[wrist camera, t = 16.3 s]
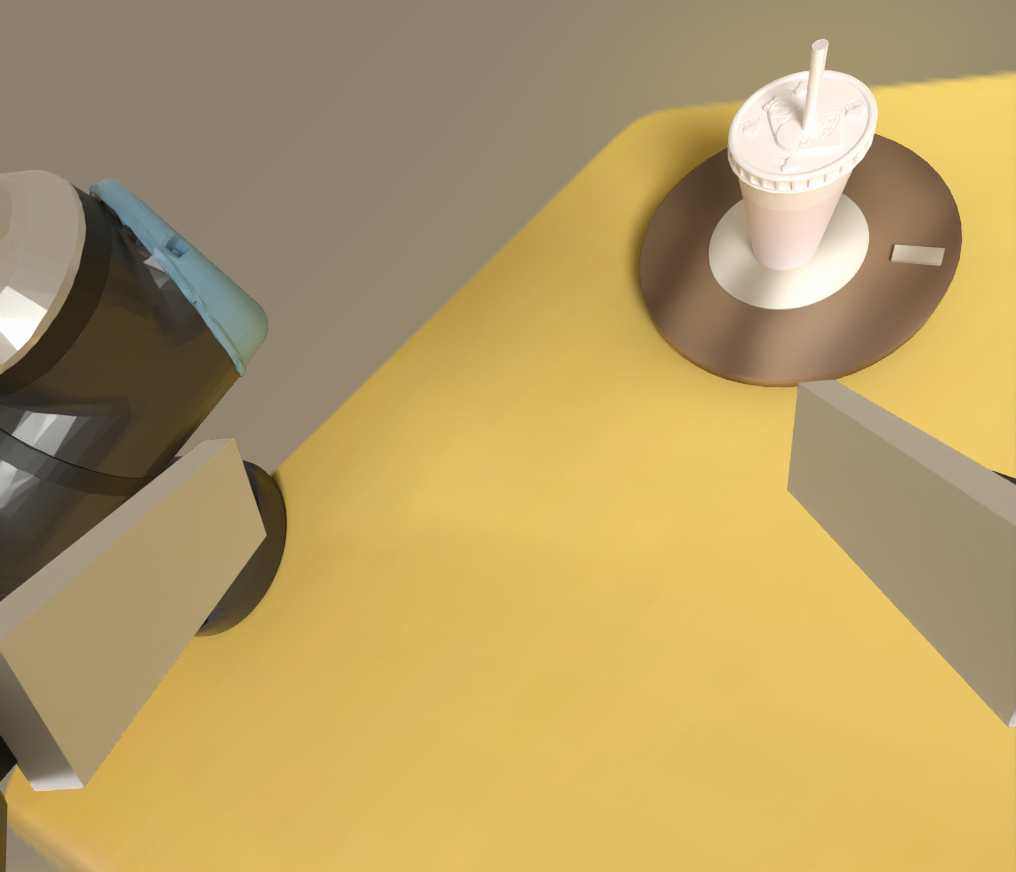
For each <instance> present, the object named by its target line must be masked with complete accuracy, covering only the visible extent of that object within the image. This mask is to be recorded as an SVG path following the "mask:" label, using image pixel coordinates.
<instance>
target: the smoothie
mask: <svg viewBox="0 0 1016 872" xmlns="http://www.w3.org/2000/svg"><path fill="white" fill-rule="evenodd" d="M827 48H828V41H827V40H824V39H821V40H818V41H816V42H815V43H814V44H813V46H812V54H811V62H810V70H809V71H803V72H798V73H794V74H790V75H787V76H784V77H782V78H779V79H777V80H775V81H773V82H771V83H769V84H767V85H765V86H764V87H762V88H761V89H759V90H758V91H756V92H755V93H754V94H753V95H751V96H750V97H749V98H748V99H747V100H746V101H745V102H744V103H743V105H742V106H741V107H740V108H739V110H738V111H737V113H736V114H735V116H734V118H733V120H732V123H731V126H730V130H729V138H728V140H729V142H728V145H727V148H728V160H729V163H730V165H731V167H732V170H733V172H734V173H735V174H736V175H737V176H738V178H739V183H740V187H741V192H742V197H743V202H744V207H745V212H746V217H747V222H748V227H749V232H750V237H751V242H752V247H753V253H754V255H755V257H756V259H757V260H758V261H759V262H760V263H761V264H762V265H764V266H766V267H768V268H771V269H775V270H787V269H792V268H796V267H798V266H800V265H802V264H804V263H805V262H807V261H808V260H809V259H810V258H811V257H812V256H813V255H814V253H815V252H816V250H817V247H818V245H819V243H820V241H821V239H822V236H823V234H824V232H825V230H826V227H827V225H828V223H829V221H830V219H831V216H832V214H833V212H834V210H835V207H836V205H837V203H838V201H839V199H840V196H841V194H842V192H843V190H844V188H845V185H846V183H847V181H848V179H849V177H850V175H851V173H852V170H853V168H854V167H855V166H856V165H857V164H858V163H859V162H860V161H861V160H862V159H863V158H864V156H865V154H866V153H867V151H868V149H869V148H870V146H871V144H872V141H873V137H874V132H875V126H876V122H877V115H878V114H877V104H876V101H875V98H874V96H873V94H872V93H871V91H870V90H869V89H868V87H867V86H866V85H864V84H863V83H862V82H861V81H859V80H858V79H856V78H854V77H852V76H850V75H847V74H844V73H841V72H836V71H830V70H824V68H825V61H826V54H827Z"/></svg>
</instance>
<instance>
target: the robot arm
mask: <svg viewBox="0 0 1016 872" xmlns="http://www.w3.org/2000/svg"><path fill="white" fill-rule="evenodd" d="M89 190H90V193H89V195H88V194H86V193H85V192H83V191H82V190H80V189H78V188H77V187H75V186H74V185H72V184H71V183H69V182H67V181H66V180H64V179H63V178H61V177H59V176H57V175H55V174H52V173H50V172H47V171H44V170H30V171H20V172H11V173H2V174H0V781H1V780H2V779H3V778H4V777H5V776H6V774H7V773H8V772H9V771H10V770H11V769H12V768H13V767H14V765H15V764H17V765H18V767H19V768H20V770H21V771H22V773H23V774H24V776H25V777H26V779H27V780H28V782H29V783H30V785H31V786H32V788H33V789H34V791H44V790H59V789H75V788H85V786H86V785H87V784H88V782H89V781H90V779H91V778H92V777H93V775H94V774H95V772H96V771H97V770H98V768H99V767H100V765H101V764H102V763H103V761H104V760H105V759H106V757H107V756H108V754H109V753H110V752H111V750H112V749H113V747H114V746H115V745H116V743H117V742H118V741H119V739H120V738H121V736H122V735H123V734H124V732H125V731H126V729H127V728H128V727H129V725H130V724H131V723H132V721H133V720H134V718H135V717H136V716H137V714H138V713H139V711H140V710H141V709H142V707H143V706H144V705H145V703H146V702H147V700H148V699H149V698H150V696H151V695H152V693H153V692H154V691H155V689H156V688H157V686H158V685H159V684H160V682H161V681H162V680H163V678H164V677H165V675H166V674H167V673H168V671H169V670H170V668H171V667H172V666H173V664H174V663H175V662H176V660H177V659H178V657H179V656H180V655H181V653H182V652H183V650H184V649H185V648H186V646H187V645H188V644H189V642H190V641H191V639H192V638H193V637H197V636H211V635H215V634H219V633H222V632H224V631H226V630H228V629H230V628H232V627H233V626H235V625H236V624H238V623H239V622H241V621H242V620H243V619H244V618H245V617H246V616H248V615H249V614H250V613H251V612H252V611H253V609H254V608H255V607H256V606H257V605H258V603H259V602H260V601H261V599H262V598H263V596H264V595H265V593H266V592H267V590H268V588H269V587H270V585H271V583H272V581H273V579H274V576H275V574H276V572H277V569H278V566H279V563H280V560H281V556H282V552H283V547H284V541H285V527H286V525H285V512H284V506H283V501H282V498H281V495H280V493H279V490H278V488H277V486H276V484H275V483H274V481H273V480H272V478H271V477H270V476H269V475H268V474H267V473H266V472H265V471H264V470H263V469H261V468H260V467H259V466H257V465H255V464H253V463H250V462H247V461H243V460H242V459H241V456H240V453H239V450H238V447H237V444H236V440H235V438H234V437H233V438H224V439H212V440H203V441H202V442H201V443H199V444H198V445H197V446H196V447H194V448H193V449H192V450H191V451H189V452H188V453H187V454H186V455H184V456H182V457H181V456H180V457H174V456H175V455H176V454H177V453H178V451H179V450H180V449H181V448H182V446H183V445H184V444H185V443H186V441H187V440H188V439H189V438H190V436H191V435H192V434H193V433H194V431H195V430H196V429H197V428H198V427H199V426H200V424H201V423H202V422H203V421H204V419H205V418H206V417H207V416H208V415H209V413H210V412H211V411H212V410H213V408H214V407H215V406H216V405H217V403H218V402H219V401H220V400H221V399H222V397H223V396H224V395H225V394H226V392H227V391H228V390H229V389H230V387H231V386H232V385H233V384H234V383H235V381H236V380H237V379H238V377H242V376H243V375H244V372H245V371H246V368H245V366H246V365H247V363H248V362H249V361H250V359H251V358H252V357H253V355H254V354H255V352H256V351H257V349H258V348H259V347H260V345H261V344H262V343H263V341H264V340H265V338H266V335H267V332H268V320H267V317H266V314H265V312H264V310H263V309H262V307H261V306H260V305H259V304H258V303H257V302H256V301H254V300H253V299H252V298H251V297H250V296H249V295H248V294H247V293H245V292H244V291H243V290H242V289H241V288H240V287H239V286H238V285H237V284H235V283H234V282H233V281H232V280H231V279H230V278H229V277H227V276H226V275H225V274H224V273H223V272H222V271H221V270H220V269H219V268H217V267H216V266H215V265H214V264H213V263H212V262H211V261H209V260H208V259H207V258H206V257H205V256H204V255H203V254H202V253H201V252H199V251H198V250H197V249H196V248H195V247H194V246H192V245H191V244H190V243H189V242H188V241H187V240H186V239H184V238H183V237H182V236H181V235H180V234H179V233H178V232H177V231H176V230H174V229H173V228H172V227H171V226H170V225H169V224H168V223H167V222H165V221H164V220H163V219H162V218H161V217H160V216H159V215H157V214H156V213H155V212H154V211H153V210H152V209H151V208H150V207H148V206H147V205H146V204H145V203H144V202H143V201H142V200H140V199H139V198H138V197H137V196H136V195H134V194H133V193H132V192H131V191H130V190H129V189H128V188H127V187H125V186H124V185H123V184H122V183H121V182H120V181H118V180H116V179H113V178H108V179H105V180H103V181H102V182H101V183H99V184H94V185H93V186H92V185H91V187H90V188H89ZM787 490H788V491H789V492H790V493H791V494H792V495H793V496H794V498H795V499H796V500H797V501H798V502H799V503H800V504H801V505H802V506H803V507H804V508H805V509H806V510H807V511H808V513H809V514H810V515H811V516H812V517H813V518H814V519H815V520H816V521H817V522H818V523H819V524H820V525H821V527H822V528H823V529H824V530H825V531H826V532H827V533H828V534H829V535H830V536H831V537H832V538H833V539H834V540H835V542H836V543H837V544H838V545H839V546H840V547H841V548H842V549H843V550H844V551H845V552H846V553H847V554H848V556H849V557H850V558H851V559H852V560H853V561H854V562H855V563H856V564H857V565H858V566H859V567H860V568H861V570H862V571H863V572H864V573H865V574H866V575H867V576H868V577H869V578H870V579H871V580H872V581H873V582H874V583H875V585H876V586H877V587H878V588H879V589H880V590H881V591H882V592H883V593H884V594H885V595H886V596H887V597H888V599H889V600H890V601H891V602H892V603H893V604H894V605H895V606H896V607H897V608H898V609H899V610H900V611H901V613H902V614H903V615H904V616H905V617H906V618H907V619H908V620H909V621H910V622H911V623H912V624H913V625H914V626H915V628H916V629H917V630H918V631H919V632H920V633H921V634H922V635H923V636H924V637H925V638H926V639H927V640H928V642H929V643H930V644H931V645H932V646H933V647H934V648H935V649H936V650H937V651H938V652H939V653H940V654H941V656H942V657H943V658H944V659H945V660H946V661H947V662H948V663H949V664H950V665H951V666H952V667H953V668H954V669H955V671H956V672H957V673H958V674H959V675H960V676H961V677H962V678H963V679H964V680H965V681H966V682H967V683H968V685H969V686H970V687H971V688H972V689H973V690H974V691H975V692H976V693H977V694H978V695H979V696H980V697H981V699H982V700H983V701H984V702H985V703H986V704H987V705H988V706H989V707H990V708H991V709H992V710H993V711H994V712H995V714H996V715H997V716H998V717H999V718H1000V719H1001V720H1002V721H1003V722H1004V723H1005V724H1006V725H1007V726H1008V727H1016V479H1015V478H1012V477H1009V476H1007V475H1004V474H1001V473H998V472H995V471H991V470H989V469H987V468H986V467H984V466H982V465H980V464H979V463H977V462H975V461H973V460H972V459H970V458H968V457H967V456H965V455H963V454H961V453H960V452H958V451H956V450H954V449H953V448H951V447H949V446H947V445H946V444H944V443H942V442H941V441H939V440H937V439H935V438H934V437H932V436H930V435H928V434H927V433H925V432H923V431H922V430H920V429H918V428H916V427H915V426H913V425H911V424H909V423H908V422H906V421H904V420H902V419H901V418H899V417H897V416H896V415H894V414H892V413H890V412H889V411H887V410H885V409H883V408H882V407H880V406H878V405H876V404H875V403H873V402H871V401H870V400H868V399H866V398H864V397H863V396H861V395H859V394H857V393H856V392H854V391H852V390H850V389H849V388H847V387H845V386H844V385H842V384H840V383H838V382H837V381H835V380H823V381H813V382H802V383H798V392H797V402H796V411H795V421H794V430H793V439H792V449H791V458H790V468H789V477H788V487H787ZM6 835H7V803H6V800H5V798H4V795H3V794H2V793H1V791H0V872H5V870H6V869H5V868H6Z"/></svg>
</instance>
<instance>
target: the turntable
mask: <svg viewBox="0 0 1016 872" xmlns="http://www.w3.org/2000/svg"><path fill="white" fill-rule="evenodd" d="M961 244H962V232H961V221H960V216H959V212H958V208H957V205H956V203H955V200H954V198H953V196H952V194H951V191H950V189H949V188H948V186H947V185H946V184H945V182H944V181H943V179H942V178H941V176H940V175H939V174H938V173H937V172H936V171H935V170H934V169H933V168H932V167H931V166H930V165H929V164H928V163H927V162H926V161H925V160H924V159H922V158H921V157H920V156H918V155H917V154H916V153H914V152H913V151H912V150H910V149H908V148H906V147H904V146H903V145H901V144H899V143H897V142H895V141H893V140H890V139H887V138H885V137H882V136H880V135H877V134H874V137H873V141H872V144H871V146H870V148H869V149H868V151H867V153H866V154H865V156H864V158H863V159H862V160H861V161H860V162H859V163H858V164H857V165H856V166H855V167H854V168H853V170H852V173H851V175H850V177H849V179H848V181H847V183H846V185H845V188H844V190H843V192H842V194H841V196H840V199H839V201H838V203H837V205H836V207H835V210H834V212H833V214H832V216H831V219H830V221H829V223H828V225H827V227H826V230H825V232H824V234H823V236H822V239H821V241H820V243H819V245H818V247H817V250H816V252H815V253H814V255H813V256H812V257H811V258H810V259H809V260H808V261H807V262H805V263H804V264H802V265H800V266H798V267H796V268H792V269H787V270H775V269H771V268H768V267H766V266H764V265H762V264H761V263H760V262H759V261H758V260H757V259H756V257H755V255H754V253H753V247H752V242H751V237H750V232H749V227H748V222H747V217H746V212H745V207H744V202H743V197H742V192H741V187H740V183H739V178H738V176H737V175H736V174H735V173H734V172H733V170H732V167H731V165H730V163H729V160H728V148H726V149H724V150H723V151H721V152H719V153H717V154H716V155H714V156H712V157H710V158H709V159H707V160H706V161H704V162H703V163H702V164H700V165H699V166H697V167H696V168H695V169H693V170H692V171H691V172H690V173H689V174H688V175H686V176H685V177H684V178H683V179H682V180H681V181H680V182H679V183H678V184H677V185H676V186H675V187H674V188H673V189H672V190H671V191H670V192H669V194H668V195H667V196H666V198H665V199H664V200H663V202H662V203H661V204H660V206H659V207H658V209H657V211H656V213H655V214H654V216H653V218H652V220H651V222H650V224H649V227H648V229H647V231H646V234H645V237H644V241H643V245H642V248H641V256H640V281H641V286H642V291H643V295H644V299H645V302H646V305H647V308H648V311H649V313H650V316H651V318H652V320H653V322H654V324H655V326H656V327H657V329H658V331H659V332H660V334H661V335H662V336H663V337H664V339H665V340H666V341H667V343H668V344H669V345H670V346H671V347H672V348H674V349H675V350H676V351H677V352H678V353H679V354H680V355H681V356H683V357H684V358H685V359H687V360H688V361H690V362H691V363H692V364H694V365H696V366H698V367H699V368H701V369H703V370H705V371H707V372H709V373H711V374H714V375H716V376H719V377H722V378H724V379H727V380H731V381H735V382H739V383H743V384H748V385H756V386H764V387H795V386H798V383H802V382H813V381H823V380H835V379H838V378H841V377H844V376H847V375H851V374H854V373H856V372H858V371H860V370H862V369H865V368H867V367H869V366H871V365H873V364H875V363H877V362H878V361H880V360H882V359H883V358H885V357H887V356H888V355H890V354H892V353H893V352H894V351H896V350H897V349H898V348H899V347H901V346H902V345H903V344H905V343H906V342H907V341H908V340H910V339H911V338H912V337H913V336H914V335H915V333H916V332H917V331H918V330H919V329H920V328H921V327H922V326H923V325H924V324H925V323H926V321H927V320H928V319H929V317H930V316H931V315H932V313H933V312H934V311H935V309H936V308H937V306H938V305H939V303H940V301H941V300H942V298H943V297H944V295H945V293H946V291H947V289H948V287H949V285H950V283H951V282H952V280H953V278H954V275H955V271H956V268H957V265H958V262H959V259H960V251H961Z"/></svg>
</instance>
